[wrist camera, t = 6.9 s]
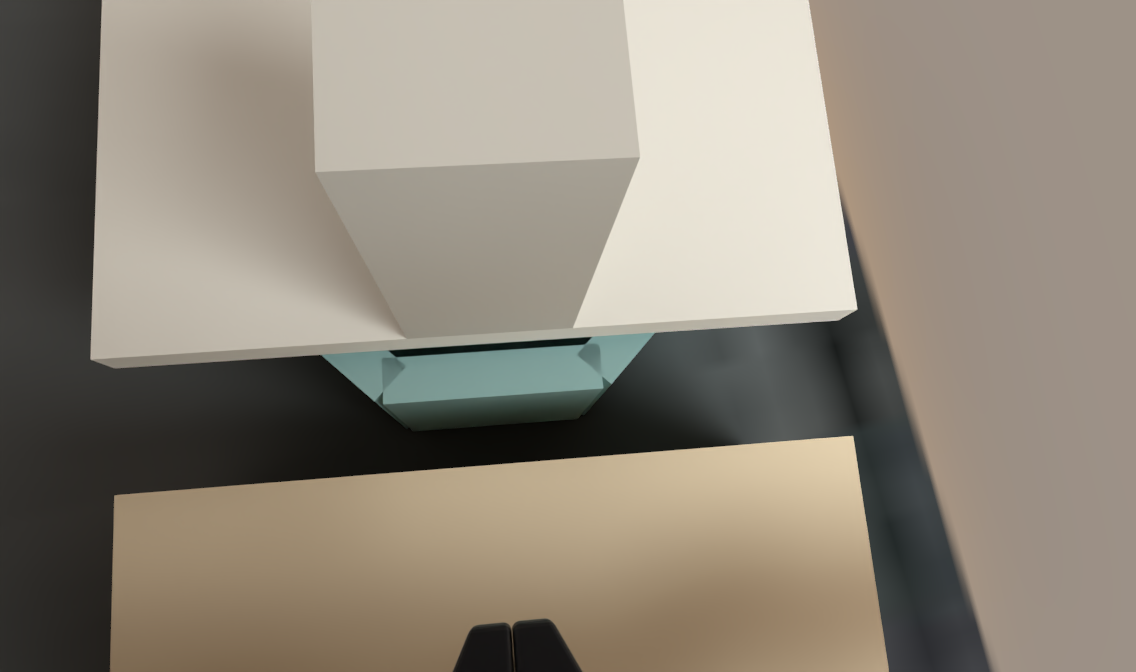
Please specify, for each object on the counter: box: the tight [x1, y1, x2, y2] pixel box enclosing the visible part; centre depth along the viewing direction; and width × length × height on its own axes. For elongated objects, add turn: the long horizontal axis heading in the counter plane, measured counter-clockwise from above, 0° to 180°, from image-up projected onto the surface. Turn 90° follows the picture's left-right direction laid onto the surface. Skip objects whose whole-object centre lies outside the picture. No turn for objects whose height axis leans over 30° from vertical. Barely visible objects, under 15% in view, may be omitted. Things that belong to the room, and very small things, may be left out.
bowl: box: [322, 333, 654, 431], centre depth 18 cm, size 10×10×5 cm
